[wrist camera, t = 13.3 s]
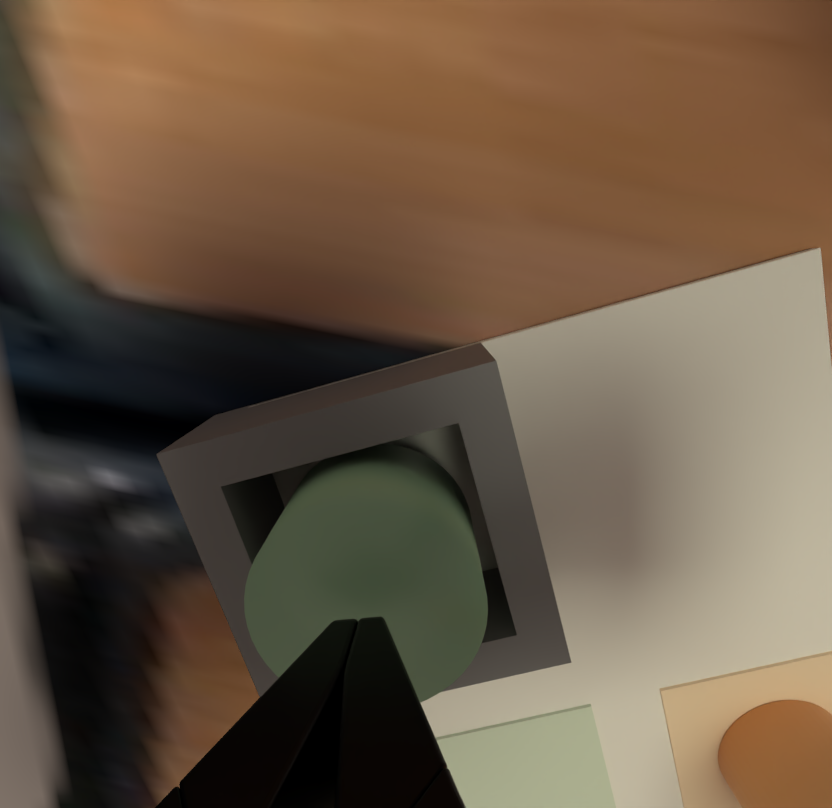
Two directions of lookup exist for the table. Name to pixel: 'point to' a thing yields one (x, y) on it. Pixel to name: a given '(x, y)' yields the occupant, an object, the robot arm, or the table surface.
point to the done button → (373, 564)
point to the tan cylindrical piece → (780, 756)
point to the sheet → (589, 528)
